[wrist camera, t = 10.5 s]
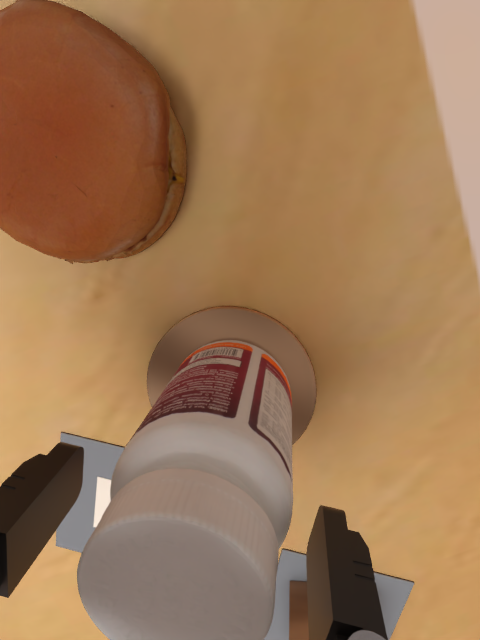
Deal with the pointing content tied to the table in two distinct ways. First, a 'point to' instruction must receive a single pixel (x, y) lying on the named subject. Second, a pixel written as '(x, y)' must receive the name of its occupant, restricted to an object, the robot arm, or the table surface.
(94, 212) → the burger
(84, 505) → the code tile
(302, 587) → the walnut block
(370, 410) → the table surface
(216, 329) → the coaster
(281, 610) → the code tile
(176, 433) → the pill bottle
